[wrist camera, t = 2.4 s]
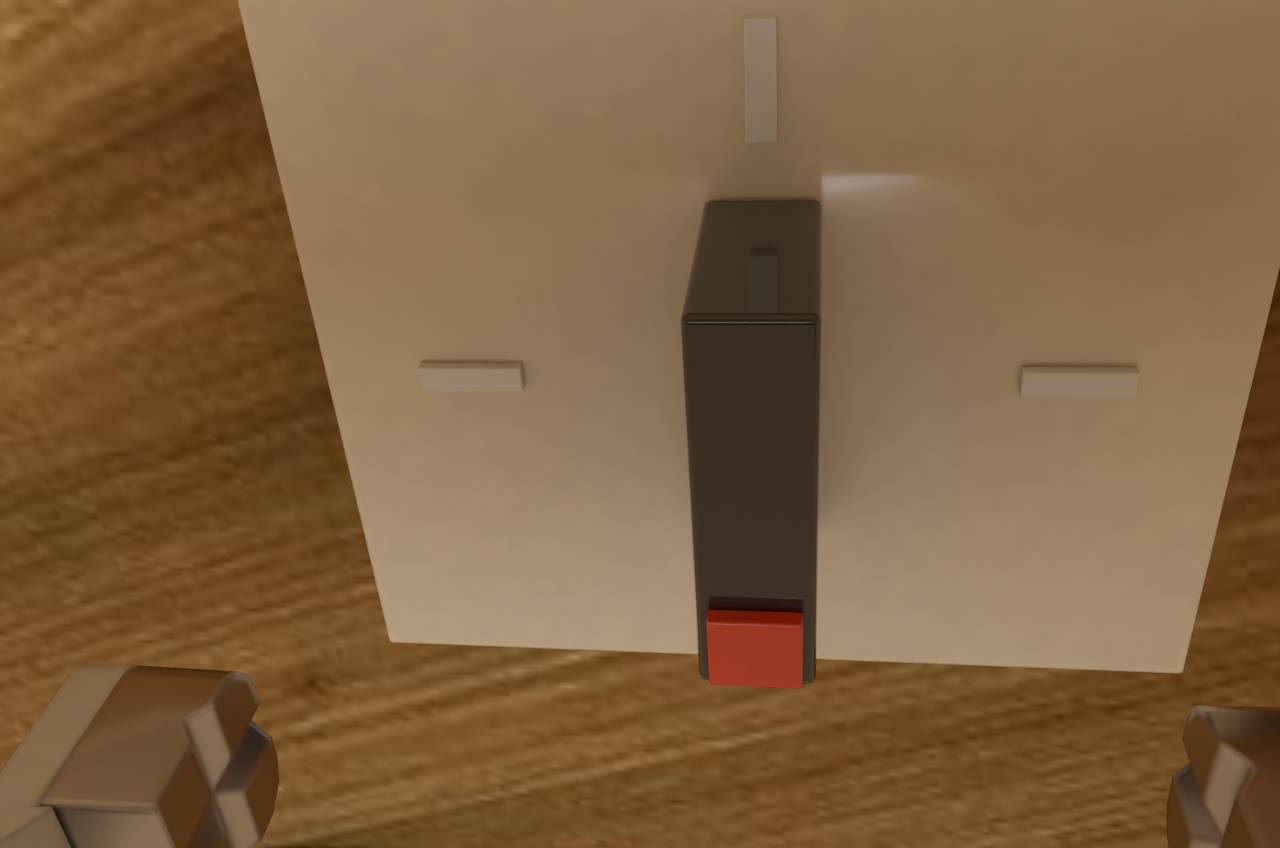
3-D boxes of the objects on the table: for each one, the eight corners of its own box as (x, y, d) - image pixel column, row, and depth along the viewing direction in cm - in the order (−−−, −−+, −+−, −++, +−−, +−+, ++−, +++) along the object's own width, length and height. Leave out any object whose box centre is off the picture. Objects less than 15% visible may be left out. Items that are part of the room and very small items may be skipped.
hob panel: (1267, -102, 15) (1363, -42, 12) (1139, 546, 20) (1186, 683, 18) (323, -60, 16) (228, 1, 14) (438, 527, 22) (385, 650, 19)
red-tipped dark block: (703, 198, 15) (675, 328, 12) (821, 196, 14) (822, 328, 12) (716, 530, 17) (696, 697, 15) (816, 532, 17) (815, 703, 14)
